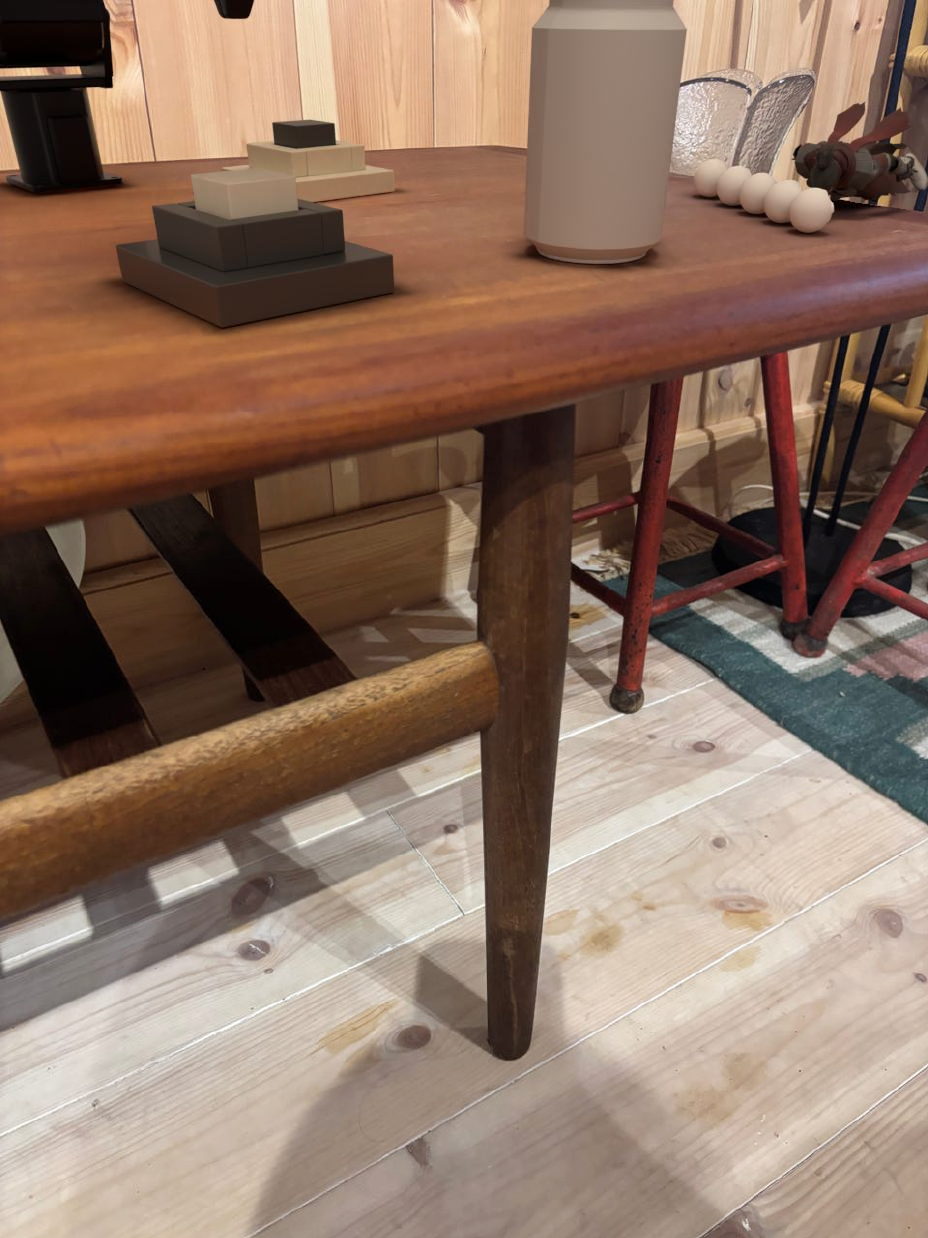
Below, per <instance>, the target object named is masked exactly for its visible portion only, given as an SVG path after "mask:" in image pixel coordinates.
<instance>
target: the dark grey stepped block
mask: <svg viewBox="0 0 928 1238" xmlns="http://www.w3.org/2000/svg"><path fill="white" fill-rule="evenodd" d="M297 200H298V210H296V211H289V212H281V213H274V214H267V215H259V216H252V217H245V218H237V219H231V220H228V219H225V218H222V217H218V216H215V215H212V214H209V213H205V212H202V211H199V210H196V206H195V200H191V201H182V202H177V203H175V202H173V203H167V204H165V203H163V204H156V205H151V209H152V215H153V222H154V227H155V234H156V239H148V240H147V239H146V240H142V241H135V242H127V243H120V244H119V243H118V244H115V251H116V255H117V261H118V265H119V270H120V275H121V280H122V282H123V283H124V284H127V285H129V286H132V287H134V288H136V289H137V290H140V291H142V292H144V293H146V294H148V295H151V296H153V297H155V298H157V299H159V300H161V301H164V302H165V303H168V304H170V305H172V306H174V307H176V308H179V309H181V310H183V311H185V312H187V313H189V314H191V315H194V316H196V317H197V318H200V319H201V320H205V321H206V322H209V323H211V324H213V325H215V326H217V327H219V328H222V329H223V328H228V327H233V326H237V325H243V324H248V323H253V322H258V321H262V320H266V319H271V318H275V317H276V318H277V317H281V316H287V315H291V314H296V313H300V312H305V311H311V310H315V309H320V308H326V307H330V306H334V305H335V306H336V305H338V304H344V303H349V302H354V301H358V300H363V299H368V298H372V297H377V296H382V295H388V294H392V293H394V292H395V275H394V274H395V272H394V255H393V254H391V253H389V252H384V251H382V250H378V249H374V248H371V247H367V246H365V245H364V246H363V245H361V244H357V243H353V242H351V241H347V240H346V239H345V223H344V211H343V209H340V208H336V207H332V206H328V205H325V204H321V203H317V202H309V201H305V200H301V199H297Z"/></svg>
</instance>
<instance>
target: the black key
mask: <svg viewBox="0 0 928 1238" xmlns="http://www.w3.org/2000/svg"><path fill="white" fill-rule="evenodd" d="M271 125H272V134H273V135H272V136H273V141H274V145H278V146H283V147H289V148H294V149H300V148H311V147H322V146H332V145H336V138H337V137H336V124H335V122H329V121H322V120H316V119H299V120H298V119H297V120H287V121H286V120H283V121H273V122H272V123H271Z"/></svg>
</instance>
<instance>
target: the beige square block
mask: <svg viewBox="0 0 928 1238" xmlns="http://www.w3.org/2000/svg"><path fill="white" fill-rule="evenodd" d="M190 178H191V184H192V185H191V186H192V191H193V199H194V201H195V206H196V210H199V211H202V212H205V213H209V214H212V215H215V216H218V217H222V218H225V219H228V220H231V219H237V218H245V217H252V216H259V215H267V214H274V213H281V212H289V211H296V210H298V200H297V189H296V178H295V176H291V175H286V174H282V173H277V172H273V171H269V170H264V169H260V168H250V169H240V170H231V171H222V170H221V171H213V172H202V173H195V174H194V173H193V174H191V175H190Z"/></svg>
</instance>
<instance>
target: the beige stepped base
mask: <svg viewBox="0 0 928 1238" xmlns="http://www.w3.org/2000/svg"><path fill="white" fill-rule="evenodd" d="M365 147H366V146H365V144H361V143H355V142H348V141H342V140H338V139H337V140H336V145H332V146H322V147H311V148H300V149H294V148H289V147H283V146H278V145H274V140H270V141H269V140H267V141H257V142H255V141H254V142H247V143H246V152H247V153H246V154H247V162H248V164H244V165H243V164H242V165H234V166H233V165H231V166H223V167H221V169H220V170H221V171H231V170H240V169H250V168H260V169H264V170H269V171H273V172H277V173H282V174H286V175H291V176H295V178H296V189H297V199H301V200H305V201H309V202H313V203H317V202H318V203H319V202H325V201H332V200H340V199H347V198H348V199H349V198H355V197H364V196H369V195H379V194H385V193H393V192H396V191H395V190H396V189H395V170H393V169H388V168H383V167H378V166H372V165H369V164H368V165H367V164H366V149H365Z"/></svg>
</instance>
